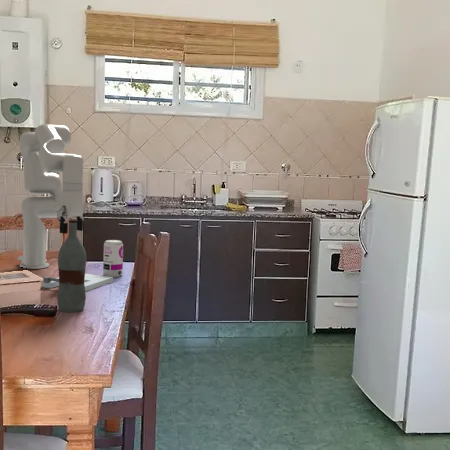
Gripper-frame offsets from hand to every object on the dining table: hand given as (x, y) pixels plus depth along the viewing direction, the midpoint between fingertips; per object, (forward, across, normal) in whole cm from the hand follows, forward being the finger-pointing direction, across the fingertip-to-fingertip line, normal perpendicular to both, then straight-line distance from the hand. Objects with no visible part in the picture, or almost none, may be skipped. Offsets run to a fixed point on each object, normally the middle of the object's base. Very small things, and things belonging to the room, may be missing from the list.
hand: (71, 231), depth 214 cm
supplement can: (+22, -27, +3) cm, 35 cm away
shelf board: (+22, -5, +1) cm, 22 cm away
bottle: (+21, +26, +20) cm, 39 cm away
